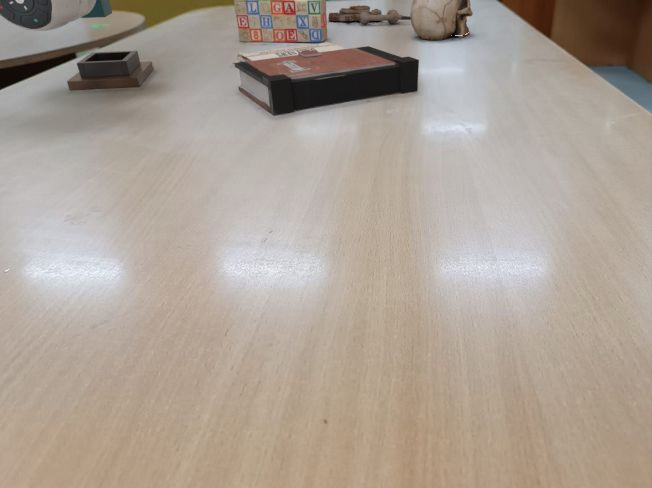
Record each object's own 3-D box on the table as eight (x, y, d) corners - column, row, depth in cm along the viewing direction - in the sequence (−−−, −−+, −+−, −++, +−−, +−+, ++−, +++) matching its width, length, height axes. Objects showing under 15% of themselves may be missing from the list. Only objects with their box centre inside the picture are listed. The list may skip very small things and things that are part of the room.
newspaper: (320, 49, 118) (320, 37, 117) (351, 63, 111) (351, 51, 109) (229, 61, 107) (228, 49, 105) (256, 79, 100) (255, 66, 98)
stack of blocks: (328, 38, 129) (325, -18, 122) (322, 43, 124) (319, -15, 117) (247, 37, 132) (241, -18, 125) (238, 41, 127) (231, -15, 120)
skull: (467, 28, 137) (471, -28, 128) (475, 49, 124) (481, -13, 115) (408, 31, 138) (409, -25, 129) (410, 52, 125) (411, -9, 116)
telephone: (443, 24, 143) (444, 7, 141) (325, 25, 145) (324, 9, 142) (438, 19, 156) (439, 3, 154) (330, 20, 158) (330, 4, 155)
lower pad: (69, 90, 91) (61, 66, 88) (91, 71, 102) (85, 50, 100) (139, 86, 92) (133, 63, 90) (153, 68, 104) (148, 47, 101)
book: (366, 70, 100) (366, 42, 97) (417, 90, 87) (418, 59, 85) (237, 89, 90) (233, 59, 87) (273, 115, 77) (270, 81, 74)
